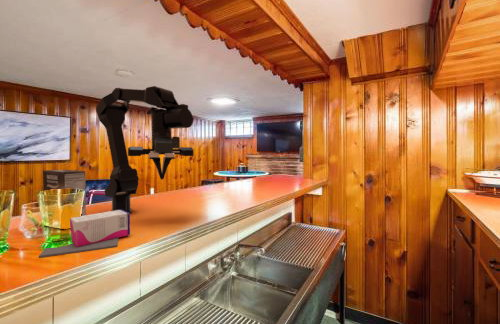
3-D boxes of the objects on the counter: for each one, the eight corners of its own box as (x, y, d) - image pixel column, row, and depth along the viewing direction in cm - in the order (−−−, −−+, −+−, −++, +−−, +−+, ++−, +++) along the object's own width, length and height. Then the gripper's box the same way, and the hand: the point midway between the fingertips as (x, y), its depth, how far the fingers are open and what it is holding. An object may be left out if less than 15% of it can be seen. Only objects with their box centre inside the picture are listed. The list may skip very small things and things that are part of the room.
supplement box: (121, 209, 66) (69, 217, 57) (130, 212, 62) (76, 221, 53) (121, 230, 66) (69, 241, 57) (130, 235, 62) (76, 248, 53)
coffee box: (43, 226, 69) (41, 170, 69) (67, 220, 75) (65, 169, 75) (63, 230, 66) (62, 171, 65) (87, 224, 72) (86, 170, 71)
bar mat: (60, 233, 64) (60, 232, 64) (120, 226, 70) (120, 225, 70) (38, 257, 49) (38, 255, 49) (117, 246, 55) (117, 245, 55)
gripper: (127, 125, 64) (128, 184, 65) (197, 128, 72) (197, 180, 73) (128, 128, 74) (128, 179, 75) (189, 131, 82) (189, 177, 83)
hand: (161, 179), depth 76 cm, fingers closed
